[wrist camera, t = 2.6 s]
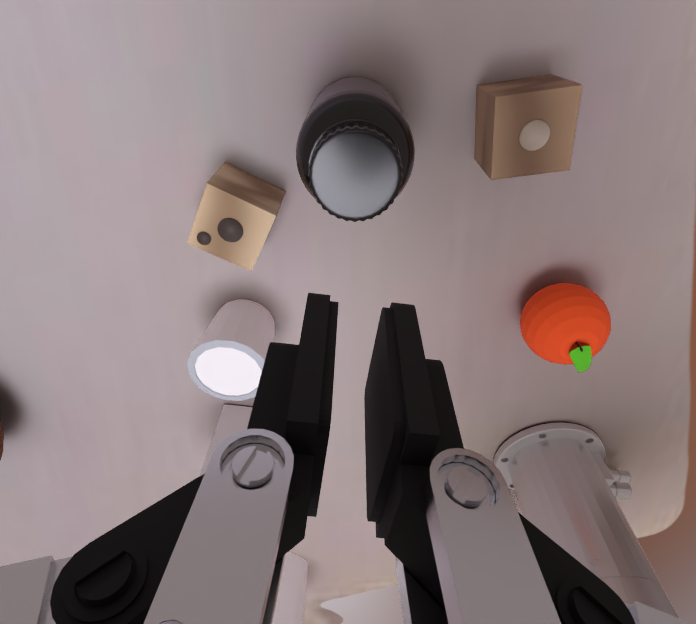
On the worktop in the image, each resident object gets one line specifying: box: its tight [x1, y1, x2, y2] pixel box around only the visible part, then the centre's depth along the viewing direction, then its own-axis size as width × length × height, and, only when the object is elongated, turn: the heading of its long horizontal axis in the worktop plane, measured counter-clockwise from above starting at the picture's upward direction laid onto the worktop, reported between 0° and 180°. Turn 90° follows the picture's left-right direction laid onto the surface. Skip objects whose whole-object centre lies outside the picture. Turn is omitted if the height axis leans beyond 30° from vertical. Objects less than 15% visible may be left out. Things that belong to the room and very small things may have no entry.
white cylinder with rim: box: [187, 299, 275, 401], centre depth 39 cm, size 7×7×7 cm
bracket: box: [272, 552, 308, 624], centre depth 62 cm, size 25×10×12 cm, turn 60°
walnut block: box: [474, 75, 583, 180], centre depth 29 cm, size 5×5×5 cm
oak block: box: [187, 162, 285, 271], centre depth 33 cm, size 5×5×5 cm
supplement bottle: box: [296, 77, 415, 222], centre depth 27 cm, size 7×7×12 cm
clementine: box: [520, 283, 611, 372], centre depth 37 cm, size 8×7×7 cm
